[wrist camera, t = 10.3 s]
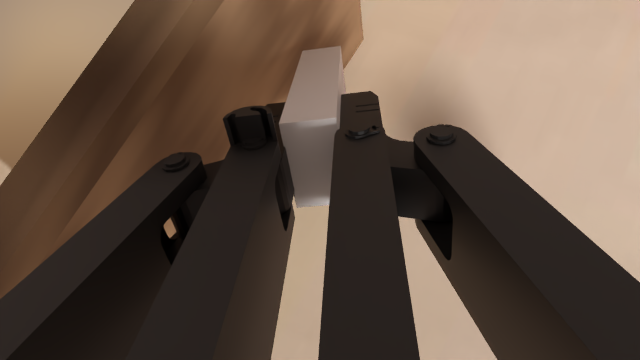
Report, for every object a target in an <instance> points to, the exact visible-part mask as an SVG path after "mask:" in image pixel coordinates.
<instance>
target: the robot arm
mask: <svg viewBox="0 0 640 360" xmlns="http://www.w3.org/2000/svg"><path fill="white" fill-rule="evenodd" d="M223 122H224V125H225V129H226V132H227V136H228V139H229V142H230V148H229V150H228V152H227V154H226V156H225V158H224V159H223V160H220V161H217V162H213V163H209V164H205V165H204V164H203V161H202V158H201V156H200V155H199V154H197V153H193V152H178V153H177V154H176V153H174V154H171V155H169V156H168V157H166V158H164V159H162V160H160V161H159V162H158V163H156V164H155V165H154V166H153V167H151V168H150V169H149V170H148V171H147V172H146V173H145V174H143V175H142V176H141V177H140V178H139V179H138V180H136V181H135V182H134V183H133V184H132V185H131V186H130V187H128V188H127V189H126V190H125V191H124V192H123V193H122V194H120V195H119V196H118V197H117V198H116V199H115V200H114V201H112V202H111V203H110V204H109V205H108V206H107V207H106V208H104V209H103V210H102V211H101V212H100V213H99V214H97V215H96V216H95V217H94V218H93V219H92V220H91V221H89V222H88V223H87V224H86V225H85V226H84V227H83V228H81V229H80V230H79V231H78V232H77V233H76V234H75V235H73V236H72V237H71V238H70V239H69V240H68V241H67V242H65V243H64V244H63V245H62V246H61V247H60V248H58V249H57V250H56V251H55V252H54V253H53V254H52V255H50V256H49V257H48V258H47V259H46V260H45V261H44V262H42V263H41V264H40V265H39V266H38V267H37V268H36V269H34V270H33V271H32V272H31V273H30V274H29V275H27V276H26V277H25V278H24V279H23V280H22V281H21V282H19V283H18V284H17V285H16V286H15V287H14V288H13V289H11V290H10V291H9V292H8V293H7V294H6V295H5V296H3V297H2V298H1V299H0V360H271V354H272V348H273V343H274V337H275V331H276V325H277V319H278V313H279V308H280V302H281V296H282V290H283V284H284V278H285V272H286V267H287V261H288V255H289V249H290V243H291V237H292V232H293V226H294V220H295V216H294V210H293V206H292V200H293V195H294V197H295V202H296V206H297V208H298V207H310V206H323V205H329V217H328V231H327V245H326V259H325V273H324V287H323V301H322V315H321V329H320V343H319V357H318V360H420V357H419V350H418V344H417V337H416V331H415V324H414V318H413V311H412V305H411V298H410V292H409V285H408V279H407V272H406V266H405V259H404V252H403V246H402V239H401V233H400V226H399V220H398V216H400V217H407V218H414V219H415V222H416V226H417V228H418V230H419V232H420V233H421V235H422V237H423V238H424V240H425V242H426V243H427V245H428V247H429V248H430V250H431V251H432V253H433V255H434V256H435V258H436V260H437V261H438V263H439V265H440V266H441V268H442V269H443V271H444V273H445V274H446V276H447V278H448V279H449V281H450V283H451V284H452V286H453V287H454V289H455V291H456V292H457V294H458V296H459V297H460V299H461V301H462V302H463V304H464V306H465V307H466V309H467V310H468V312H469V314H470V315H471V317H472V319H473V320H474V322H475V324H476V325H477V327H478V328H479V330H480V332H481V333H482V335H483V337H484V338H485V340H486V342H487V343H488V345H489V347H490V348H491V350H492V351H493V353H494V355H495V356H496V358H497V360H640V282H639V281H637V280H636V279H635V278H634V277H633V276H632V275H631V274H629V273H628V272H627V271H626V270H625V269H624V268H623V267H621V266H620V265H619V264H618V263H617V262H616V261H615V260H613V259H612V258H611V257H610V256H609V255H608V254H607V253H605V252H604V251H603V250H602V249H601V248H600V247H599V246H597V245H596V244H595V243H594V242H593V241H592V240H591V239H589V238H588V237H587V236H586V235H585V234H584V233H583V232H581V231H580V230H579V229H578V228H577V227H576V226H574V225H573V224H572V223H571V222H570V221H569V220H568V219H566V218H565V217H564V216H563V215H562V214H561V213H560V212H558V211H557V210H556V209H555V208H554V207H553V206H552V205H550V204H549V203H548V202H547V201H546V200H545V199H544V198H542V197H541V196H540V195H539V194H538V193H537V192H536V191H534V190H533V189H532V188H531V187H530V186H529V185H528V184H526V183H525V182H524V181H523V180H522V179H521V178H520V177H518V176H517V175H516V174H515V173H514V172H513V171H512V170H510V169H509V168H508V167H507V166H506V165H505V164H504V163H502V162H501V161H500V160H499V159H498V158H497V157H496V156H494V155H493V154H492V153H491V152H490V151H489V150H488V149H486V148H485V147H484V146H483V145H482V144H481V143H480V142H478V141H477V140H476V139H475V138H474V137H473V136H472V135H470V134H469V133H468V132H467V131H465V130H463V129H462V128H459V127H455V126H451V125H436V126H430V127H427V128H424V129H421V130H420V131H418V132H417V133H416V134H415V136H414V138H413V140H414V142H407V141H399V140H396V139H392V138H390V137H388V136H387V135H386V134H385V130H384V128H383V126H382V120H381V113H380V106H379V100H378V96H377V95H375V94H374V93H373V92H371V91H368V92H359V93H350V94H346V89H345V80H344V71H343V62H342V54H341V46H336V47H328V48H320V49H312V50H305V51H302V54H301V57H300V60H299V63H298V66H297V69H296V72H295V75H294V79H293V82H292V85H291V88H290V91H289V94H288V97H287V100H286V102H281V103H272V104H267V105H266V106H261V105H259V106H248V107H242V108H239V109H237V110H234V111H232V112H230V113H228V114H227V115H226V116H225V117H224V118H223ZM169 218H171V221H172V223H173V225H174V228H175V230H176V232H175V234H174V235H173V236H172V237H170V238H169V237H168V235H167V233H166V231H165V229H164V224H165V223H166V222H167V220H168V219H169Z"/></svg>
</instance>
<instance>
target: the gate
mask: <svg viewBox="0 0 640 360" xmlns="http://www.w3.org/2000/svg"><path fill="white" fill-rule="evenodd" d="M362 41H363V29H362V18H361V7H360V0H135V1H134V2H133V3H132V5H131V6H130V8H129V9H128V10H127V12H126V13H125V15H124V16H123V17H122V19H121V20H120V21H119V23H118V24H117V26H116V27H115V28H114V30H113V31H112V33H111V34H110V35H109V37H108V38H107V39H106V41H105V42H104V43H103V45H102V46H101V48H100V49H99V51H98V52H97V53H96V55H95V56H94V57H93V59H92V60H91V62H90V63H89V64H88V66H87V67H86V68H85V70H84V71H83V72H82V74H81V75H80V77H79V78H78V79H77V81H76V82H75V84H74V85H73V86H72V88H71V89H70V91H69V92H68V93H67V95H66V96H65V97H64V99H63V100H62V101H61V103H60V104H59V106H58V107H57V109H56V110H55V111H54V113H53V114H52V115H51V117H50V118H49V120H48V121H47V122H46V124H45V125H44V126H43V128H42V129H41V131H40V132H39V133H38V135H37V136H36V137H35V139H34V140H33V142H32V143H31V144H30V146H29V147H28V149H27V150H26V151H25V153H24V154H23V156H22V157H21V158H20V160H19V161H18V162H17V164H16V165H15V166H14V168H13V169H12V171H11V172H10V173H9V175H8V176H7V177H6V179H5V180H4V182H3V183H2V184H1V186H0V299H1V298H2V297H3V296H5V295H6V294H7V293H8V292H9V291H10V290H11V289H13V288H14V287H15V286H16V285H17V284H18V283H19V282H21V281H22V280H23V279H24V278H25V277H26V276H27V275H29V274H30V273H31V272H32V271H33V270H34V269H36V268H37V267H38V266H39V265H40V264H41V263H42V262H44V261H45V260H46V259H47V258H48V257H49V256H50V255H52V254H53V253H54V252H55V251H56V250H57V249H58V248H60V247H61V246H62V245H63V244H64V243H65V242H67V241H68V240H69V239H70V238H71V237H72V236H73V235H75V234H76V233H77V232H78V231H79V230H80V229H81V228H83V227H84V226H85V225H86V224H87V223H88V222H89V221H91V220H92V219H93V218H94V217H95V216H96V215H97V214H99V213H100V212H101V211H102V210H103V209H104V208H106V207H107V206H108V205H109V204H110V203H111V202H112V201H114V200H115V199H116V198H117V197H118V196H119V195H120V194H122V193H123V192H124V191H125V190H126V189H127V188H128V187H130V186H131V185H132V184H133V183H134V182H135V181H136V180H138V179H139V178H140V177H141V176H142V175H143V174H145V173H146V172H147V171H148V170H149V169H150V168H151V167H153V166H154V165H155V164H156V163H158V162H159V161H160V160H162V159H164V158H166V157H168V156H169V155H171V154H174V153H176V154H177V153H178V152H193V153H197V154H199V155H200V156H201V158H202V161H203V164H204V165H205V164H209V163H213V162H217V161H220V160H223V159H224V158H225V156H226V154H227V152H228V150H229V148H230V142H229V139H228V136H227V132H226V129H225V125H224V122H223V118H224V117H225V116H226V115H227V114H228V113H230V112H232V111H234V110H237V109H239V108H242V107H248V106H259V105H261V106H266V105H267V104H272V103H281V102H286V100H287V97H288V94H289V91H290V88H291V85H292V82H293V79H294V75H295V72H296V69H297V66H298V63H299V60H300V57H301V54H302V51H305V50H312V49H320V48H328V47H336V46H341V54H342V62H343V70H344V68H345V67H346V65H347V64H348V62H349V61H350V59H351V58H352V56H353V55H354V53H355V52H356V50H357V48H358V47H359V45H360V44H361V42H362ZM164 229H165V231H166V233H167V235H168V237H169V238H170V237H172V236H173V235H174V234H175V232H176V230H175V228H174V225H173V223H172V221H171V218H169V219H168V220H167V222H166V223H165V224H164Z"/></svg>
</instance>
